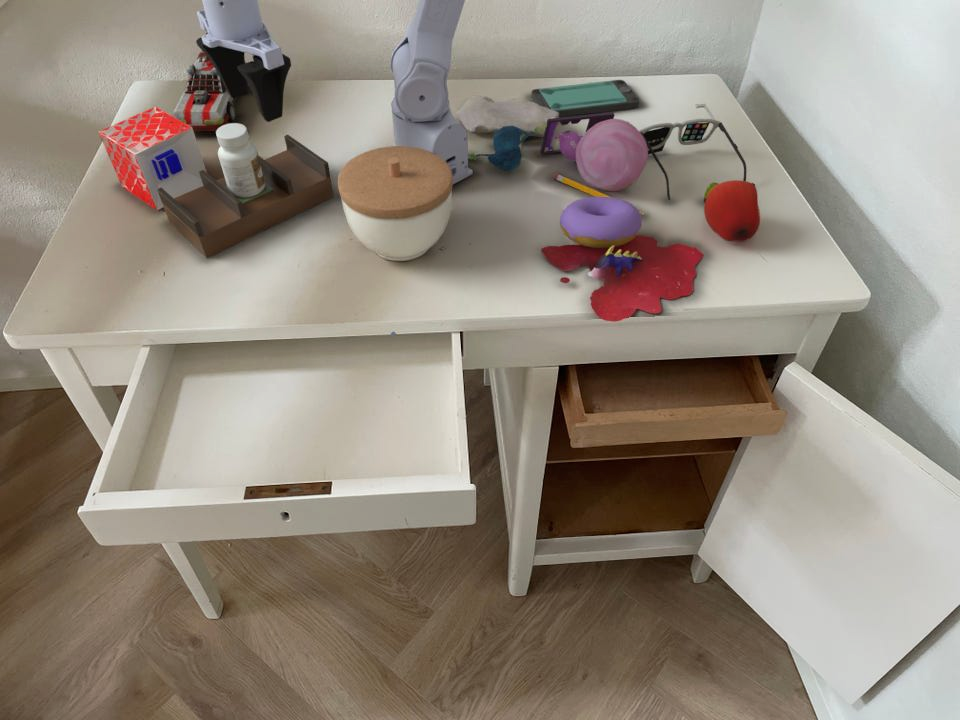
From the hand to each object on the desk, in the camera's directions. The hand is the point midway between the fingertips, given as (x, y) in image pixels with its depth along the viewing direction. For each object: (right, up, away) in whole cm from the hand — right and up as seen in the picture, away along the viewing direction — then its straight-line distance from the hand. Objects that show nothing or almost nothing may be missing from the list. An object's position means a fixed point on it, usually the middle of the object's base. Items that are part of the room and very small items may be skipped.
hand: (256, 106), depth 86 cm
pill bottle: (-1, -10, +1) cm, 10 cm away
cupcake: (+46, -2, +9) cm, 47 cm away
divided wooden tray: (-1, -12, +3) cm, 12 cm away
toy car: (-12, +7, +21) cm, 25 cm away
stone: (+24, +6, +18) cm, 30 cm away
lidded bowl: (+18, -17, -1) cm, 24 cm away
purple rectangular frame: (+40, -3, +11) cm, 42 cm away
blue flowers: (+31, +1, +12) cm, 33 cm away
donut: (+42, -17, -1) cm, 45 cm away
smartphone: (+43, +8, +22) cm, 49 cm away
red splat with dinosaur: (+44, -21, -3) cm, 49 cm away
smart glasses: (+54, -5, +10) cm, 55 cm away
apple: (+57, -16, -4) cm, 59 cm away
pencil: (+42, -10, +6) cm, 44 cm away
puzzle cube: (-14, -8, +7) cm, 17 cm away
